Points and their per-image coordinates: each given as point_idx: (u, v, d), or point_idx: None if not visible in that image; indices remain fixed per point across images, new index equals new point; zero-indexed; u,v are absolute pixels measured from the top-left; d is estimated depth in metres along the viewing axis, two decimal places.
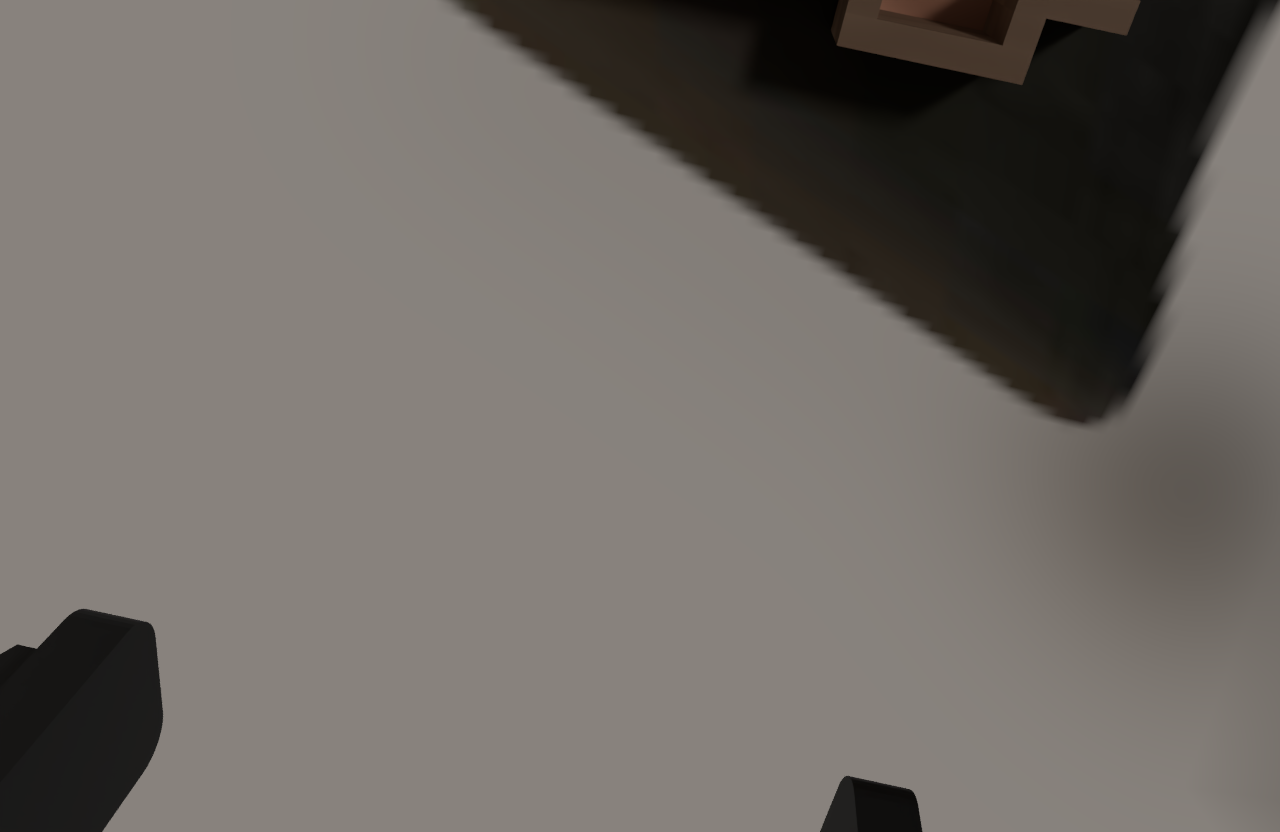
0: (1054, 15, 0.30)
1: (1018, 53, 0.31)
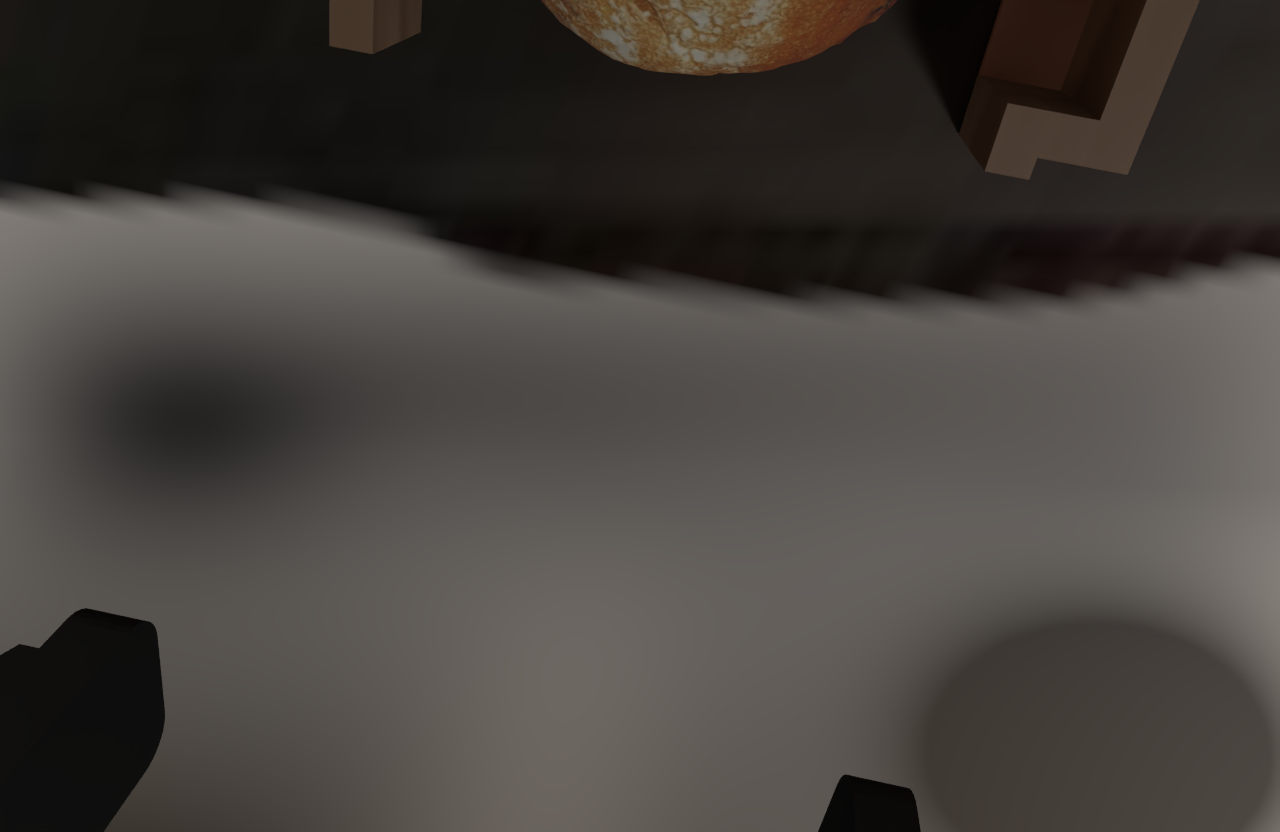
0: None
1: None
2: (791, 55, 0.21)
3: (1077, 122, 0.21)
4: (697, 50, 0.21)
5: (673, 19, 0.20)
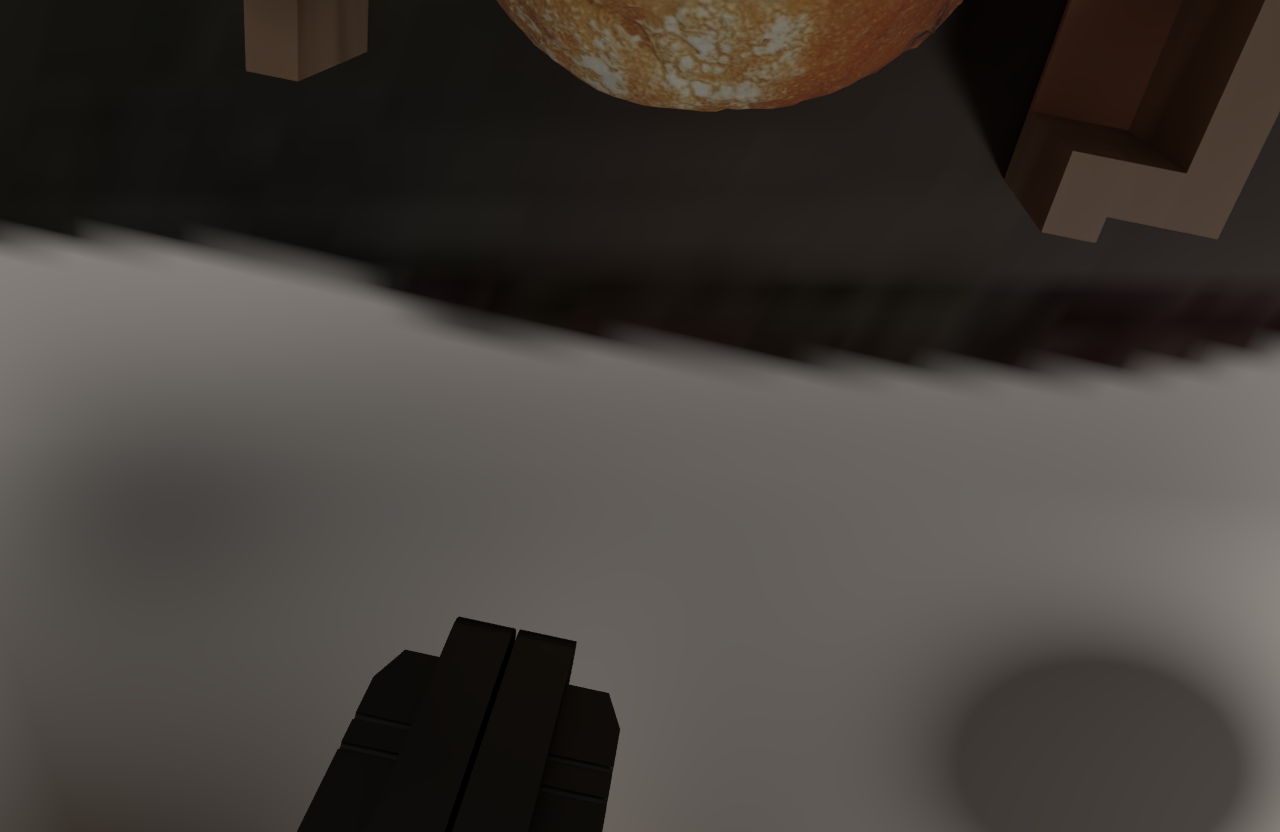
0: None
1: None
2: (815, 89, 0.17)
3: (1158, 175, 0.17)
4: (699, 83, 0.17)
5: (669, 46, 0.16)
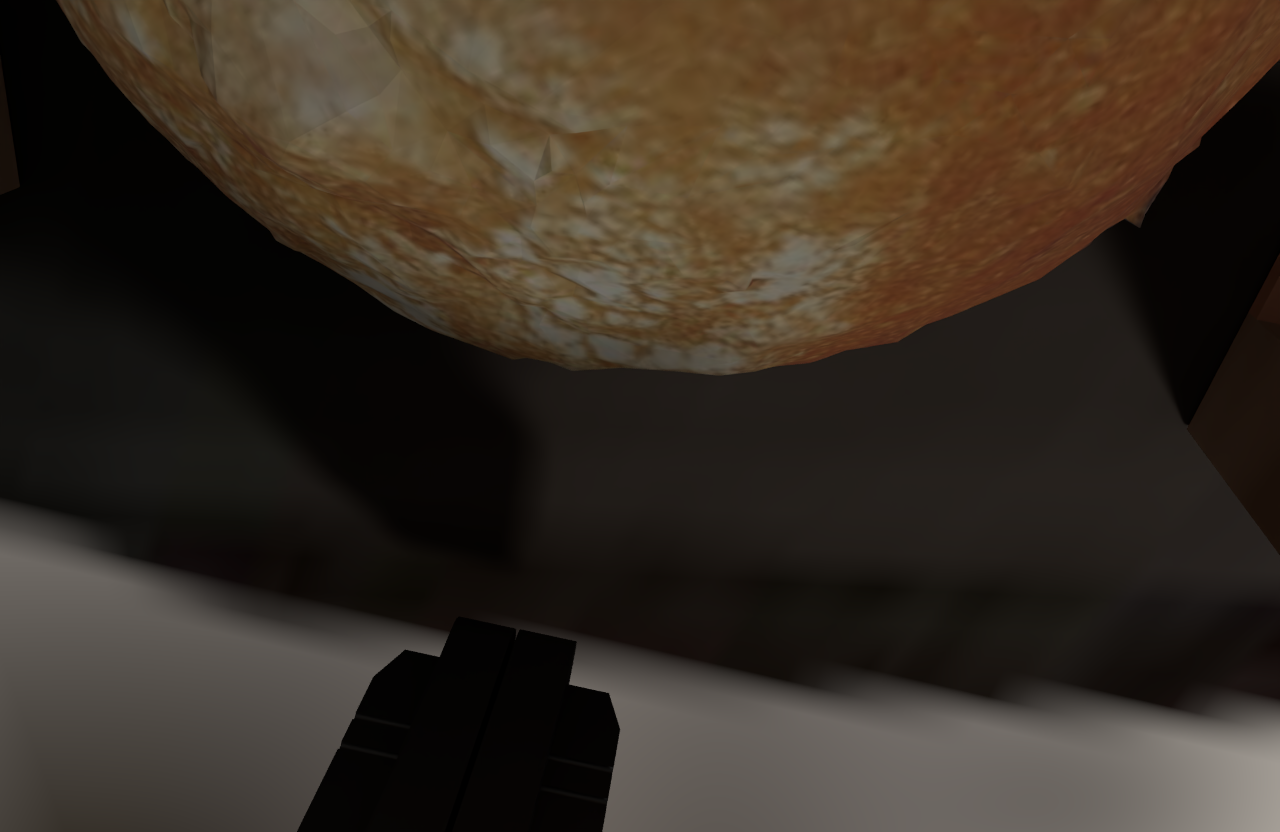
0: None
1: None
2: (867, 342, 0.08)
3: None
4: (607, 337, 0.07)
5: (522, 280, 0.07)
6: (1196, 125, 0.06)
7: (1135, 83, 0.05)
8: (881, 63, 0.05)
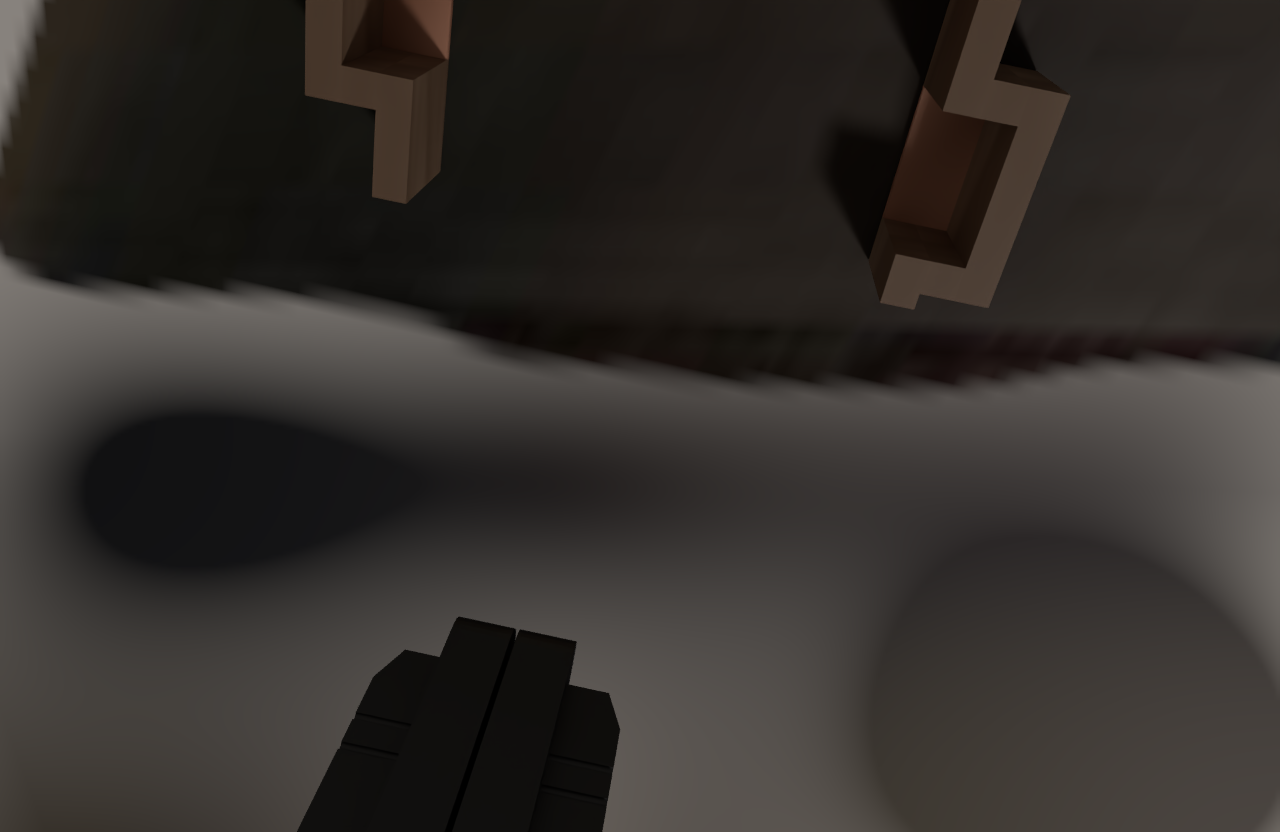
0: (379, 118, 0.27)
1: (336, 84, 0.27)
2: None
3: (948, 269, 0.28)
4: None
5: None
6: None
7: None
8: None
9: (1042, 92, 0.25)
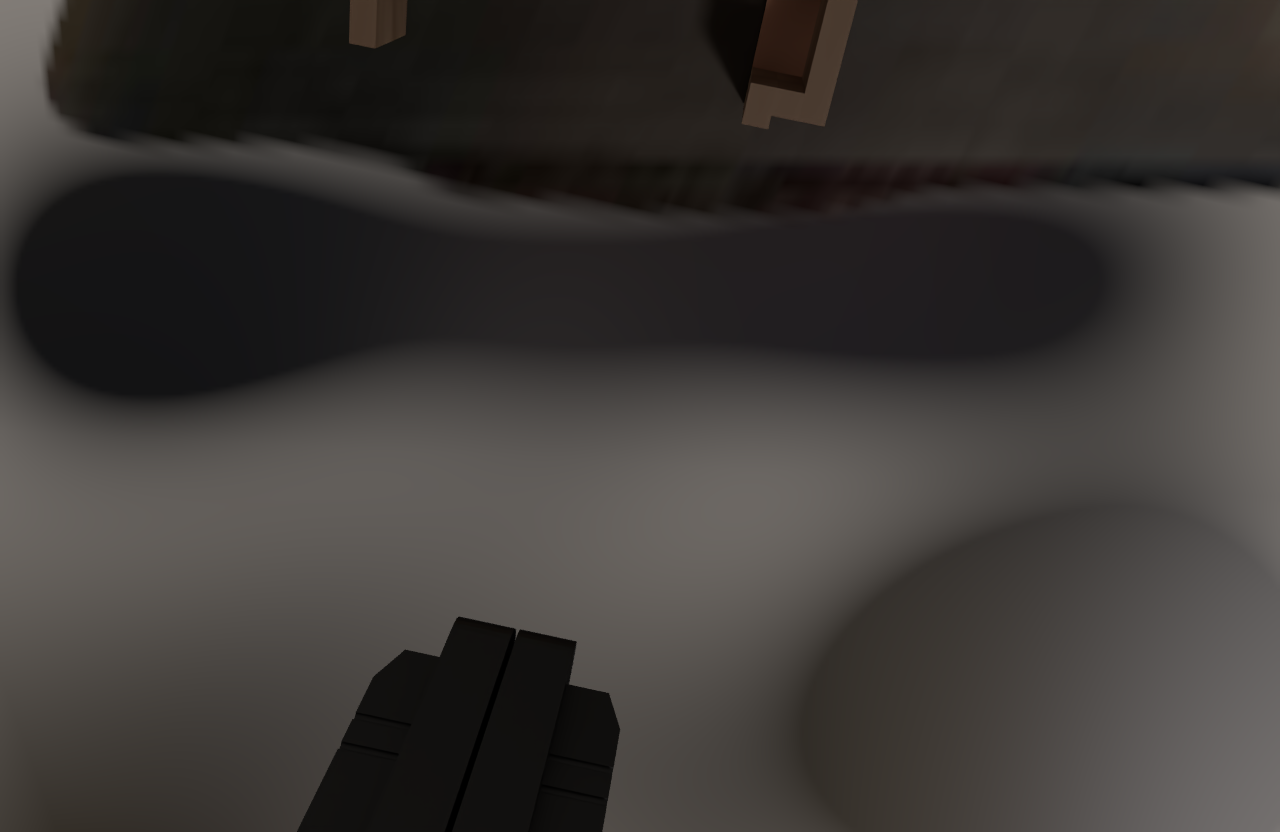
0: None
1: None
2: None
3: (791, 94, 0.36)
4: None
5: None
6: None
7: None
8: None
9: None
